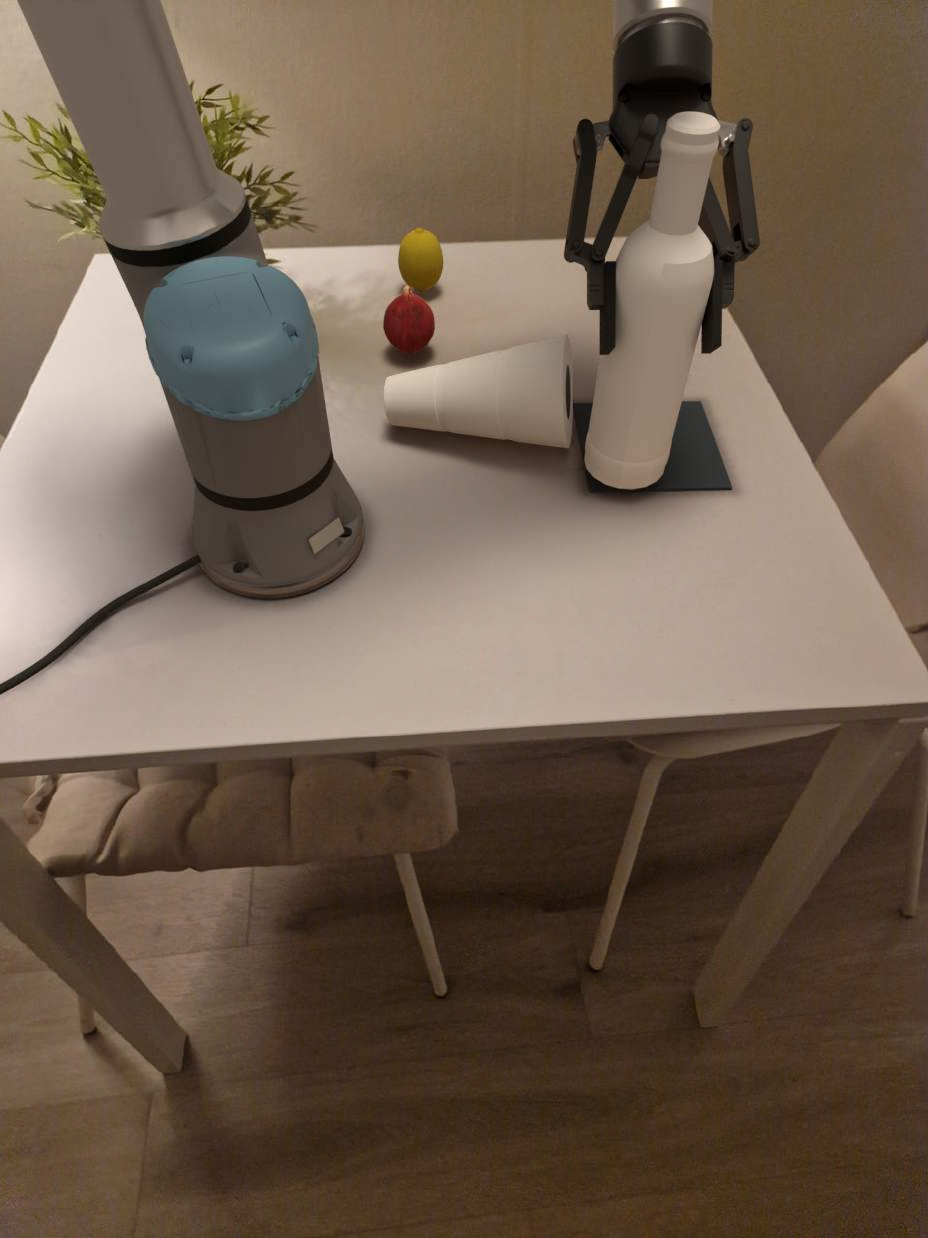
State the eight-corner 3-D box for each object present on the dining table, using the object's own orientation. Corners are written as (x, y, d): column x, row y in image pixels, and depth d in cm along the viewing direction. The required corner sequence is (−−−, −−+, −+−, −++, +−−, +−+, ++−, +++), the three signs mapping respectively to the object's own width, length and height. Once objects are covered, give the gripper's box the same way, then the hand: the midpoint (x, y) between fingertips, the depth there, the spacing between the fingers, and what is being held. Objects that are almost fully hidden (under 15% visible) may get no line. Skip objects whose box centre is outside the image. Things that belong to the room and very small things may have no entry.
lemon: (395, 284, 102) (391, 220, 96) (436, 278, 103) (435, 214, 97) (406, 306, 98) (402, 241, 92) (449, 299, 100) (448, 235, 93)
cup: (388, 323, 80) (568, 311, 76) (411, 408, 88) (574, 401, 84) (366, 390, 74) (560, 380, 70) (393, 475, 82) (568, 471, 78)
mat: (589, 492, 77) (589, 489, 77) (572, 404, 86) (572, 402, 86) (731, 489, 77) (732, 487, 77) (700, 403, 86) (701, 400, 86)
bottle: (663, 441, 80) (747, 100, 56) (667, 494, 75) (761, 145, 51) (583, 435, 80) (633, 96, 57) (582, 487, 75) (636, 140, 52)
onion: (442, 361, 91) (441, 295, 85) (395, 372, 90) (390, 305, 83) (425, 335, 94) (423, 270, 88) (379, 345, 93) (373, 279, 87)
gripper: (534, 15, 58) (537, 340, 60) (816, 14, 58) (806, 337, 60) (524, 75, 65) (527, 362, 67) (773, 74, 65) (767, 359, 68)
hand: (659, 350), depth 64 cm, fingers closed on bottle, 8 cm apart
